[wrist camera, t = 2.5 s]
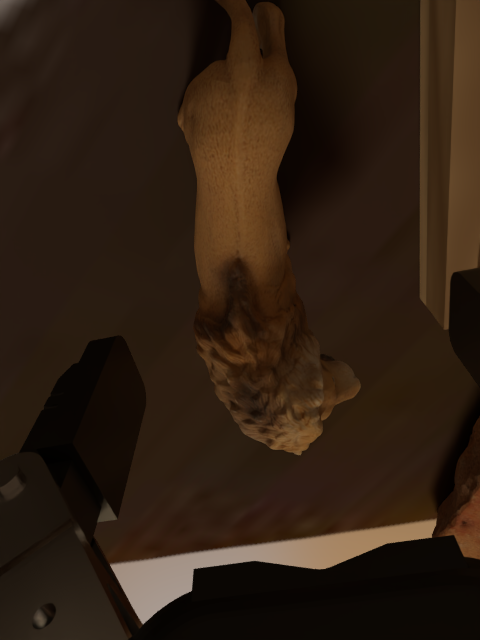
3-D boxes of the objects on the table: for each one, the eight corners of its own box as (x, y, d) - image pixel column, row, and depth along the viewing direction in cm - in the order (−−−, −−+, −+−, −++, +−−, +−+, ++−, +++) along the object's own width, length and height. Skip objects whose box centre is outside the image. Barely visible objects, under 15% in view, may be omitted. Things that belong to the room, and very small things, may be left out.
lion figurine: (328, 315, 22) (382, 462, 14) (222, 336, 22) (220, 490, 15) (271, -70, 14) (325, -198, 6) (112, -22, 15) (-12, -90, 7)
